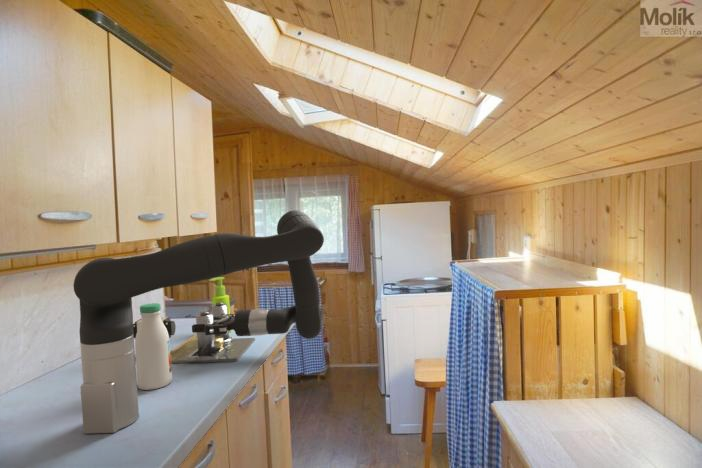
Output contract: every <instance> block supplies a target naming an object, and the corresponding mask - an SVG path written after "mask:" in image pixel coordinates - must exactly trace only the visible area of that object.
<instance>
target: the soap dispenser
mask: <svg viewBox="0 0 702 468" xmlns="http://www.w3.org/2000/svg"><path fill="white" fill-rule="evenodd" d="M223 280H225V277H223V276H219V277H215V278H211V279H208V281H209V282H215V281H217V285H216V286H215V287H214V289H215V291H214V292H215V295H214V296H212V297H211V301H212V302H211V303H212V305H211V306H213V305H216V304H215V303H218V302H223V304H227V309H228V314H231V305H230V295H229V294H226V286H225V285H223ZM231 332H232V330H230V331H229V334H230V333H231Z"/></svg>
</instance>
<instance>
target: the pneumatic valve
mask: <svg viewBox="0 0 702 468" xmlns="http://www.w3.org/2000/svg"><path fill="white" fill-rule="evenodd" d="M160 317H161V316H160ZM161 320H162V322H163V324H164V325H165V327H166V329H167V331H168V335H169V339H170V338H172V337H173V336H174V335H175V333H176V322H175V321H174V320H172V319H171V316H163V317H161ZM140 323H141V318H140V319H138V320H136V321H135V322H134V323H133V336H134V340H135V339H136V334H137V331H138V329H139V326H140Z"/></svg>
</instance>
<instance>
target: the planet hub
mask: <svg viewBox="0 0 702 468" xmlns="http://www.w3.org/2000/svg"><path fill="white" fill-rule="evenodd" d="M213 321H214V317H213V313H212V312H209V310H206V311H200V313H199V314H196V315H195V324H207V323H212V322H213ZM210 330H213V328H210ZM196 334H197V343H198V356H213V355H215V354H216V351H215V335H205V332H199V333H196Z"/></svg>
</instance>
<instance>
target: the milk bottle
mask: <svg viewBox="0 0 702 468" xmlns="http://www.w3.org/2000/svg"><path fill="white" fill-rule="evenodd" d="M161 309H162V306H161V304H160V303H157V302H156V303H155V302H154V303H146V304H142V305H140V307H139V312H140V313H139V314H140V316H141V318H140V319H141V323H140V326H139V329H138V331H137V334H136V339H135V338H134V352H135V366H136V381H137V388H138V389H140V390H143V391H153V390H156V389H160V388H161V389H162V388H163V387H167V386H168V385H169V384H171V382H172V380H173V376H172V375H173V373H172V364H171V355H170V351H171V344H170V342H171V341H170V338H169V335H168V331H167V329H166V327H165V325H164V324H163V322H162V320H161Z"/></svg>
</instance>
